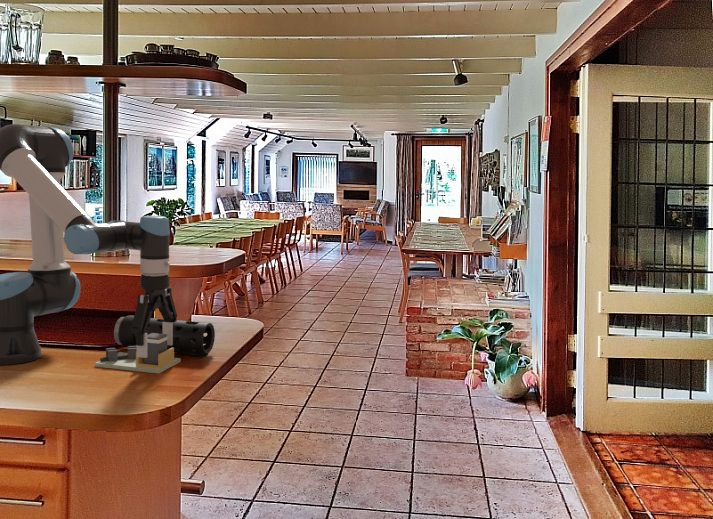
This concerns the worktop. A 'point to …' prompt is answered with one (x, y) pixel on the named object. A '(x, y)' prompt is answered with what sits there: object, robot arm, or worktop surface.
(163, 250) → the robot arm
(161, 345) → the plug
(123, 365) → the board
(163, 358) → the end holder
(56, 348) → the worktop surface
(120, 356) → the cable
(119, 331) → the muzzle brake
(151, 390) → the worktop surface
